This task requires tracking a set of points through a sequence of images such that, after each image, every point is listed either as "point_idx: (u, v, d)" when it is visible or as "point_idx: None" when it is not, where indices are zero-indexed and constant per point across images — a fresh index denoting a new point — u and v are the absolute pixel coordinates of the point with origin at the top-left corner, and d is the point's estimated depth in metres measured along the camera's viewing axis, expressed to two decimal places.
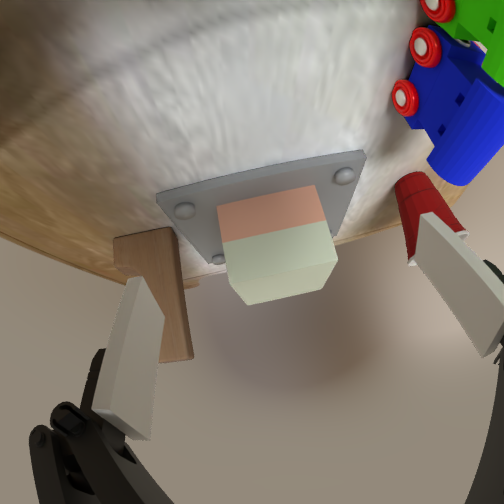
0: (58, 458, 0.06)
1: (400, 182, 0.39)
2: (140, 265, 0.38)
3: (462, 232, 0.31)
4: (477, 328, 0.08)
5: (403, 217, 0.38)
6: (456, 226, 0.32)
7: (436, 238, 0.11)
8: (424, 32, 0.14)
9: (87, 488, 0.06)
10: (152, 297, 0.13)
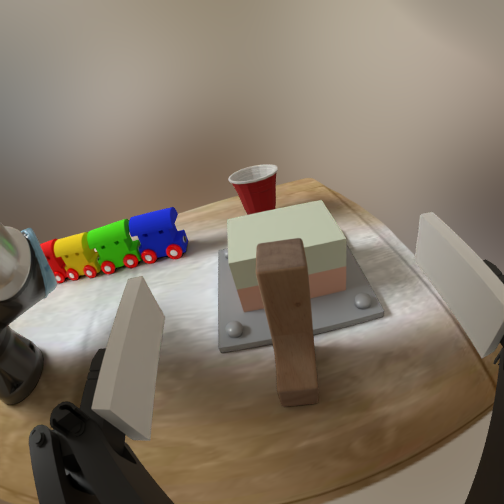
0: (58, 458, 0.06)
1: None
2: None
3: (229, 177, 0.64)
4: (477, 328, 0.08)
5: (260, 205, 0.62)
6: None
7: (436, 238, 0.11)
8: (143, 259, 0.62)
9: (87, 488, 0.06)
10: (153, 297, 0.13)
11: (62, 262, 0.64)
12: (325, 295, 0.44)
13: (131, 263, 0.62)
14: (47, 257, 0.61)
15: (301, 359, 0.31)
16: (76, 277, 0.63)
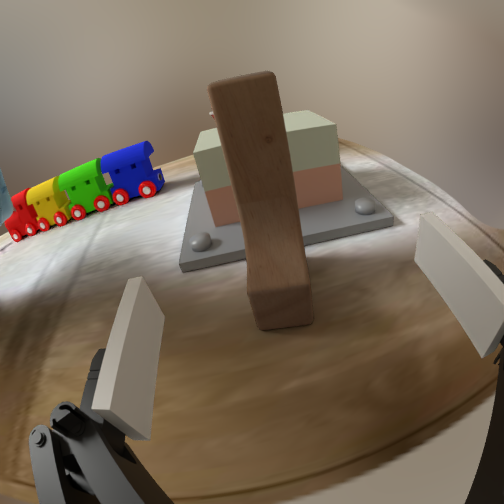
0: (58, 458, 0.06)
1: None
2: None
3: (211, 112, 0.55)
4: (477, 328, 0.08)
5: None
6: None
7: (436, 238, 0.11)
8: (114, 200, 0.54)
9: (87, 488, 0.06)
10: (153, 297, 0.13)
11: (35, 213, 0.56)
12: (317, 204, 0.35)
13: (102, 205, 0.54)
14: (20, 207, 0.53)
15: (283, 245, 0.22)
16: (47, 227, 0.55)
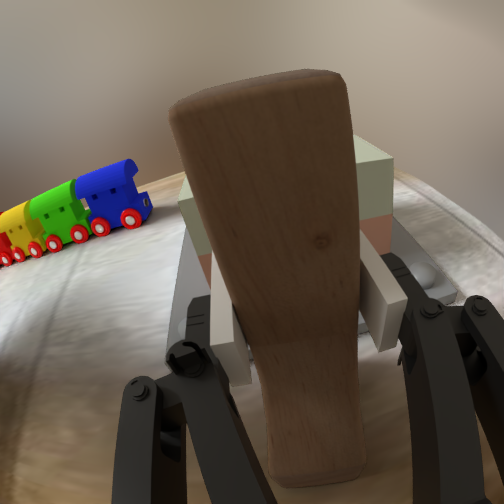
0: (157, 419, 0.07)
1: None
2: None
3: None
4: (371, 321, 0.10)
5: None
6: None
7: None
8: (93, 231, 0.44)
9: (172, 452, 0.08)
10: None
11: (10, 240, 0.46)
12: None
13: (79, 237, 0.44)
14: None
15: (328, 400, 0.12)
16: (22, 258, 0.45)
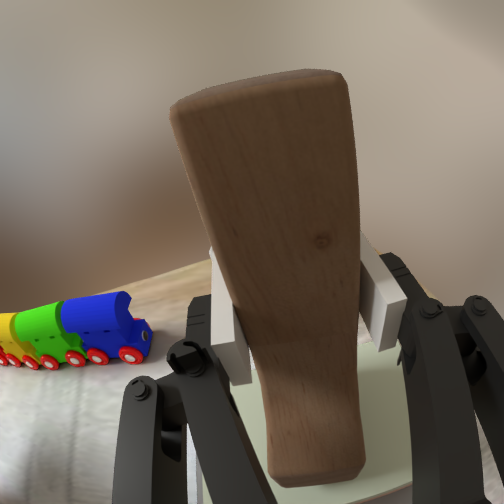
0: (158, 418, 0.07)
1: None
2: None
3: None
4: (371, 321, 0.10)
5: None
6: None
7: None
8: (90, 359, 0.37)
9: (172, 452, 0.08)
10: None
11: None
12: (378, 497, 0.17)
13: (76, 362, 0.37)
14: None
15: (327, 400, 0.12)
16: (18, 364, 0.38)
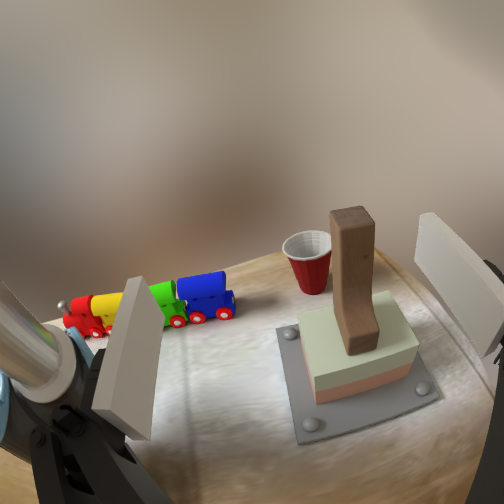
0: (58, 458, 0.06)
1: (310, 293, 0.64)
2: (340, 312, 0.38)
3: None
4: (477, 328, 0.08)
5: (315, 278, 0.60)
6: None
7: (436, 238, 0.11)
8: (191, 320, 0.63)
9: (87, 488, 0.06)
10: (153, 297, 0.13)
11: (98, 318, 0.65)
12: (389, 383, 0.41)
13: (178, 324, 0.63)
14: (82, 314, 0.62)
15: (363, 309, 0.37)
16: None
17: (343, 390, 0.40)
